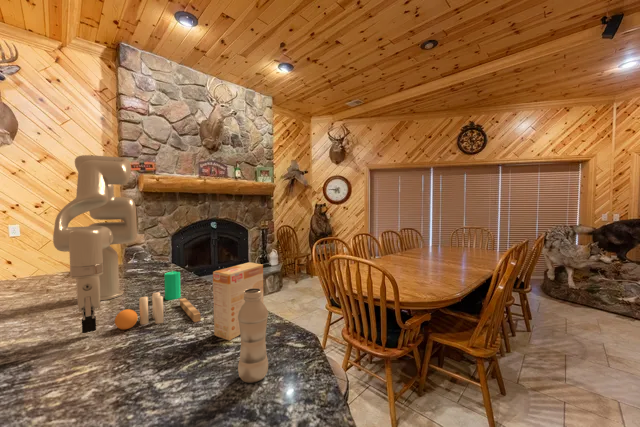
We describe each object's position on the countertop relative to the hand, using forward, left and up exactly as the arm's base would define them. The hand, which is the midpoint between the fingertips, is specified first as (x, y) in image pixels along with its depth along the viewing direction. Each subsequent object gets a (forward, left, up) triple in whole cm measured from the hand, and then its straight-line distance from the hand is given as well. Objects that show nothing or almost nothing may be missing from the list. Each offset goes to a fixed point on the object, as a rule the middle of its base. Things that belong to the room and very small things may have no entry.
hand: (89, 331), depth 84 cm
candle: (-22, +27, -2) cm, 35 cm away
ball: (+1, +9, +2) cm, 9 cm away
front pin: (0, +14, -2) cm, 14 cm away
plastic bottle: (+50, +29, -2) cm, 58 cm away
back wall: (0, +28, -2) cm, 28 cm away
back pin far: (-2, +18, -2) cm, 18 cm away
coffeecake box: (+24, +37, -2) cm, 44 cm away
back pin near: (+3, +18, -2) cm, 18 cm away
